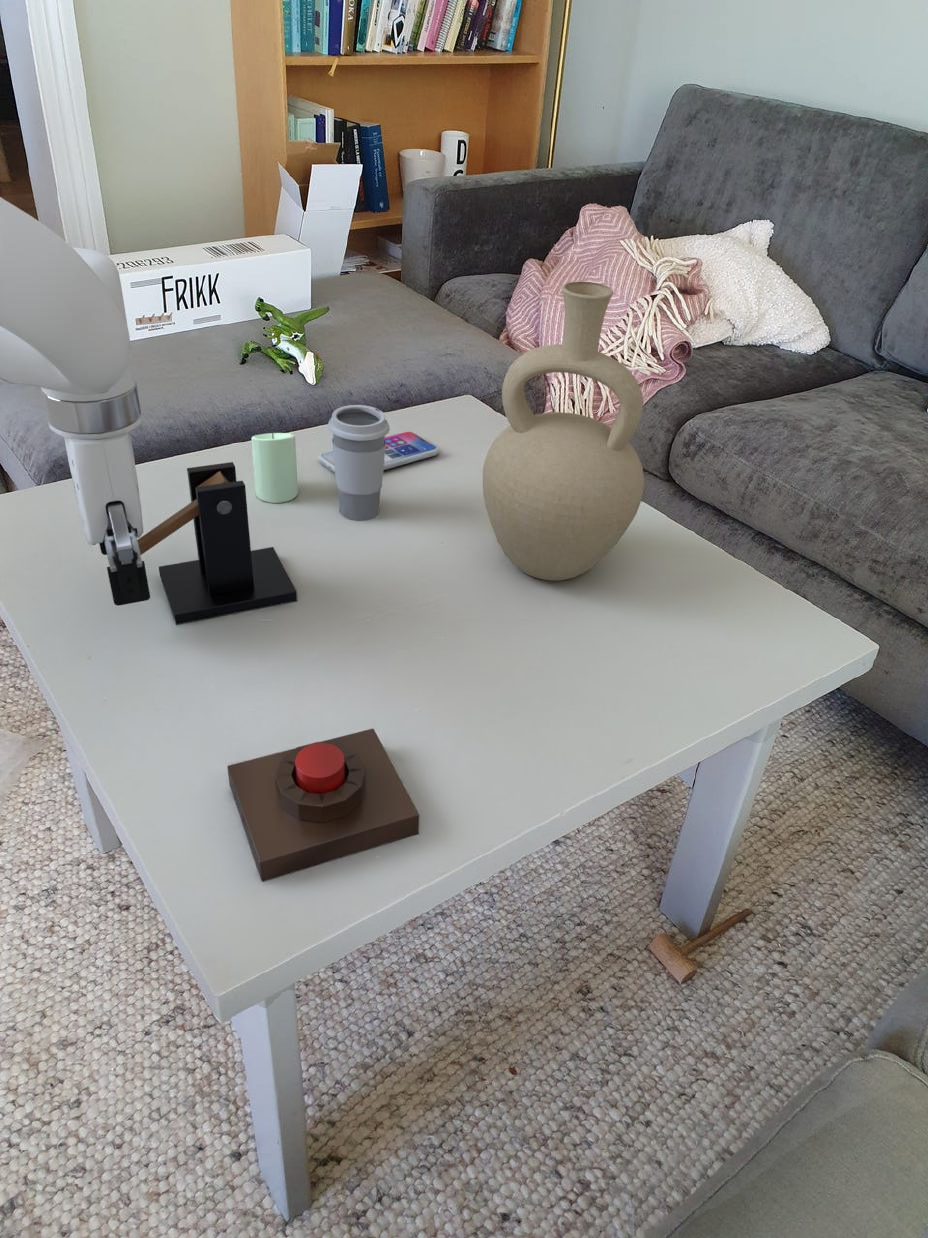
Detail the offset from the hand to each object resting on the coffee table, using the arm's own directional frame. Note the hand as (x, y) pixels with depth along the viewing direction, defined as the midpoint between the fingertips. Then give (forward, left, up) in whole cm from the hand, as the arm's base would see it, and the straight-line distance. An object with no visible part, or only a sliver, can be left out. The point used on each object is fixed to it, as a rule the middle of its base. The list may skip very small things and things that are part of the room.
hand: (125, 575), depth 88 cm
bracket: (+9, 0, -4) cm, 10 cm away
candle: (+19, +18, -4) cm, 27 cm away
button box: (+9, -32, -4) cm, 34 cm away
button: (+9, -32, 0) cm, 33 cm away
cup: (+27, +11, -4) cm, 30 cm away
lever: (+6, 0, +4) cm, 7 cm away
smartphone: (+34, +23, -4) cm, 42 cm away
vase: (+43, -7, -4) cm, 44 cm away
